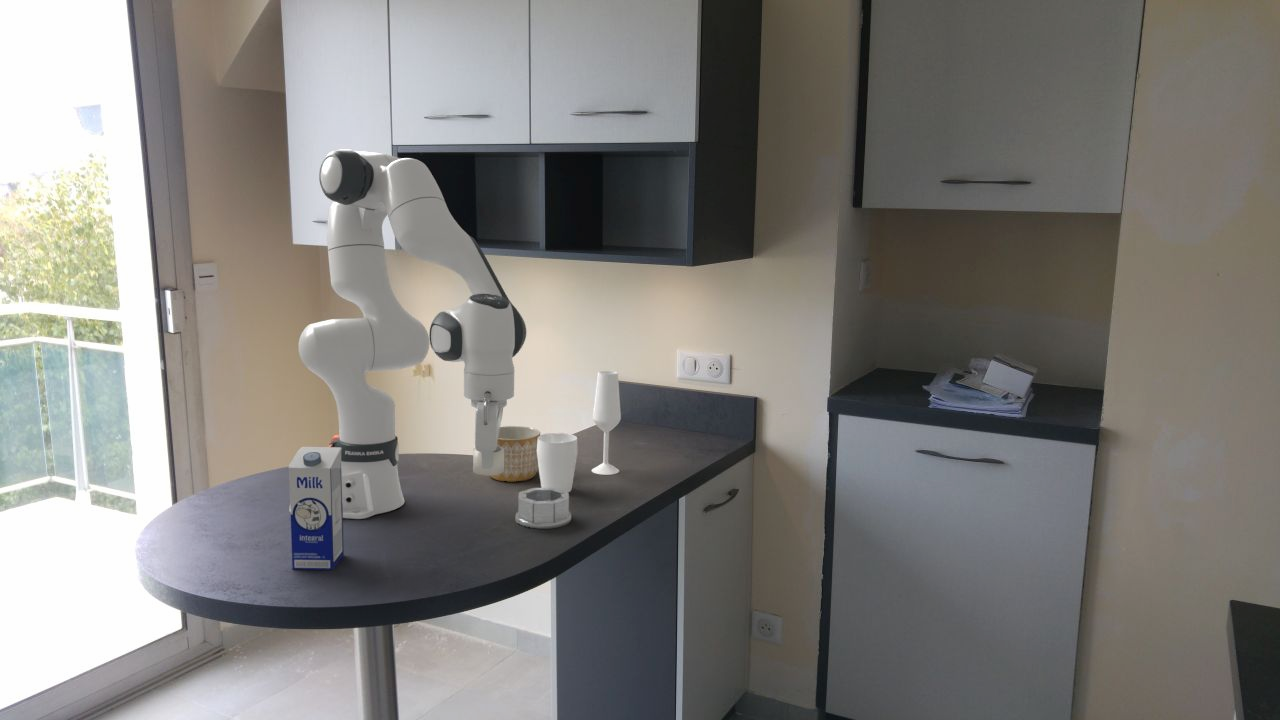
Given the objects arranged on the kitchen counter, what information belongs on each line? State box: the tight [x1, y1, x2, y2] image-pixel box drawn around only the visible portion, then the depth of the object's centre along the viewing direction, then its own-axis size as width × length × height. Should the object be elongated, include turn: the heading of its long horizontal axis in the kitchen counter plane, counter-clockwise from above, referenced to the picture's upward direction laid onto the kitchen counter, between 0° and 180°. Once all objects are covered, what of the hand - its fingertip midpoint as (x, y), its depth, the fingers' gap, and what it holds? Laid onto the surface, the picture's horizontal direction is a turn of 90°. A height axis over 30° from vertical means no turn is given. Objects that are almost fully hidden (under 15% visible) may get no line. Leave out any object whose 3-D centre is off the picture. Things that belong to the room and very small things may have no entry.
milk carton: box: [287, 446, 345, 571], centre depth 156 cm, size 7×7×20 cm
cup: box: [537, 432, 579, 493], centre depth 200 cm, size 9×9×12 cm
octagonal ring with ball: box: [514, 487, 572, 530], centre depth 182 cm, size 11×11×5 cm
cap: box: [472, 446, 504, 476], centre depth 163 cm, size 6×6×4 cm
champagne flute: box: [591, 370, 622, 476], centre depth 215 cm, size 7×7×24 cm
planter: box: [489, 425, 541, 483], centre depth 210 cm, size 13×13×10 cm
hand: (488, 461), depth 163 cm, fingers closed on cap, 5 cm apart
